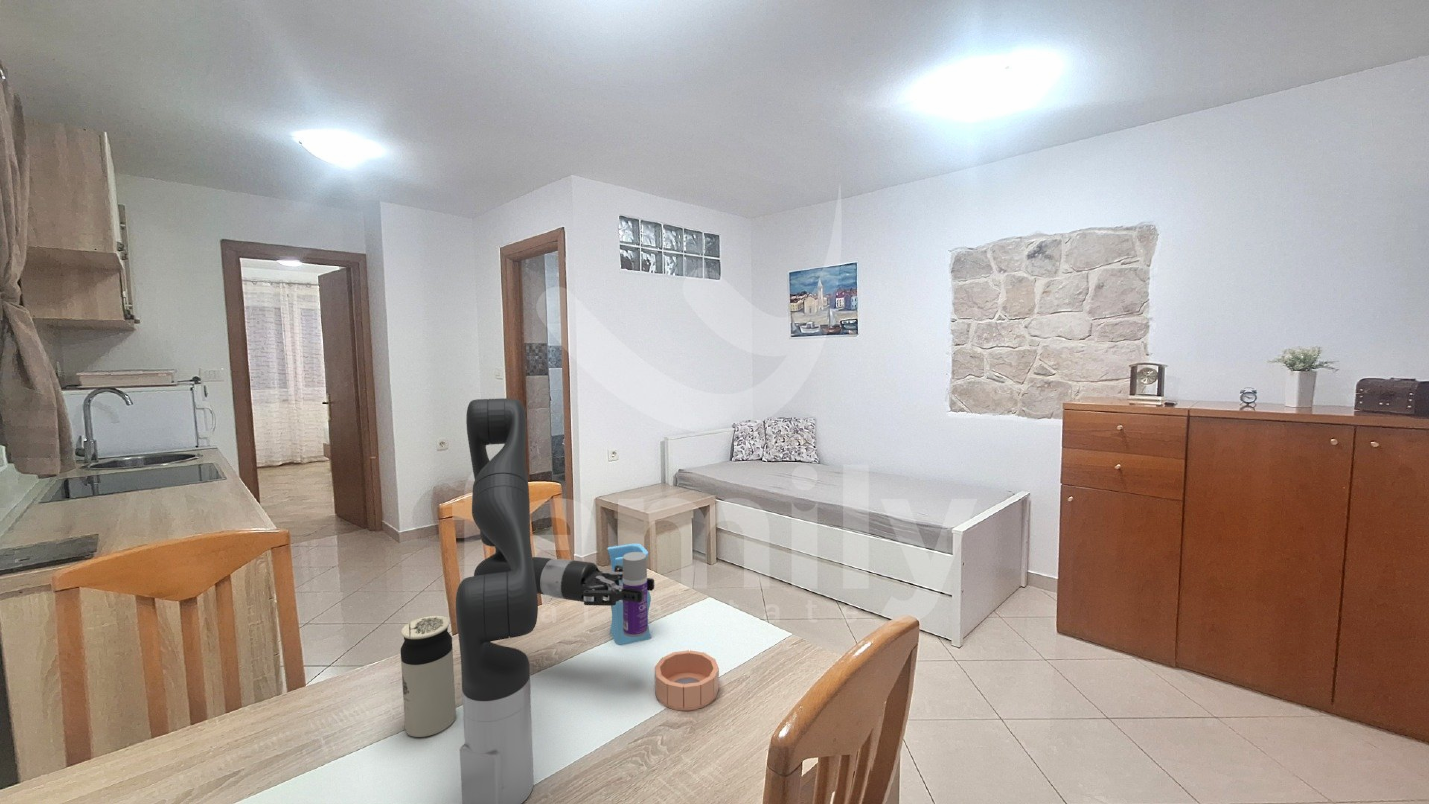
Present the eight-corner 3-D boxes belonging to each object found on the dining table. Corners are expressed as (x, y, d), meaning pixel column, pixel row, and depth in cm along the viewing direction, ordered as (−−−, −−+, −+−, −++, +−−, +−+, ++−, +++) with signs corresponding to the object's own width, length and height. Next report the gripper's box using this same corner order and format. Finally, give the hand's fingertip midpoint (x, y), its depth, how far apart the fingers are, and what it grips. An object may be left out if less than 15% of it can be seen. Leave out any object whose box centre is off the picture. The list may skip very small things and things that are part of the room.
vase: (608, 630, 129) (606, 547, 127) (641, 622, 132) (639, 542, 130) (617, 646, 122) (615, 559, 120) (651, 638, 125) (650, 553, 123)
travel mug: (457, 704, 102) (452, 611, 100) (454, 731, 94) (449, 632, 93) (409, 714, 99) (403, 619, 97) (401, 744, 92) (395, 641, 90)
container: (643, 638, 104) (642, 561, 102) (619, 635, 104) (618, 559, 103) (650, 626, 108) (650, 552, 107) (628, 623, 109) (627, 550, 108)
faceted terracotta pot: (706, 716, 98) (706, 692, 98) (645, 703, 102) (645, 680, 101) (725, 678, 110) (725, 656, 109) (669, 668, 113) (669, 646, 113)
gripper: (548, 575, 102) (631, 586, 98) (587, 549, 116) (662, 558, 111) (549, 613, 103) (632, 627, 98) (588, 583, 117) (662, 593, 112)
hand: (647, 590), depth 105 cm, fingers closed on container, 4 cm apart
